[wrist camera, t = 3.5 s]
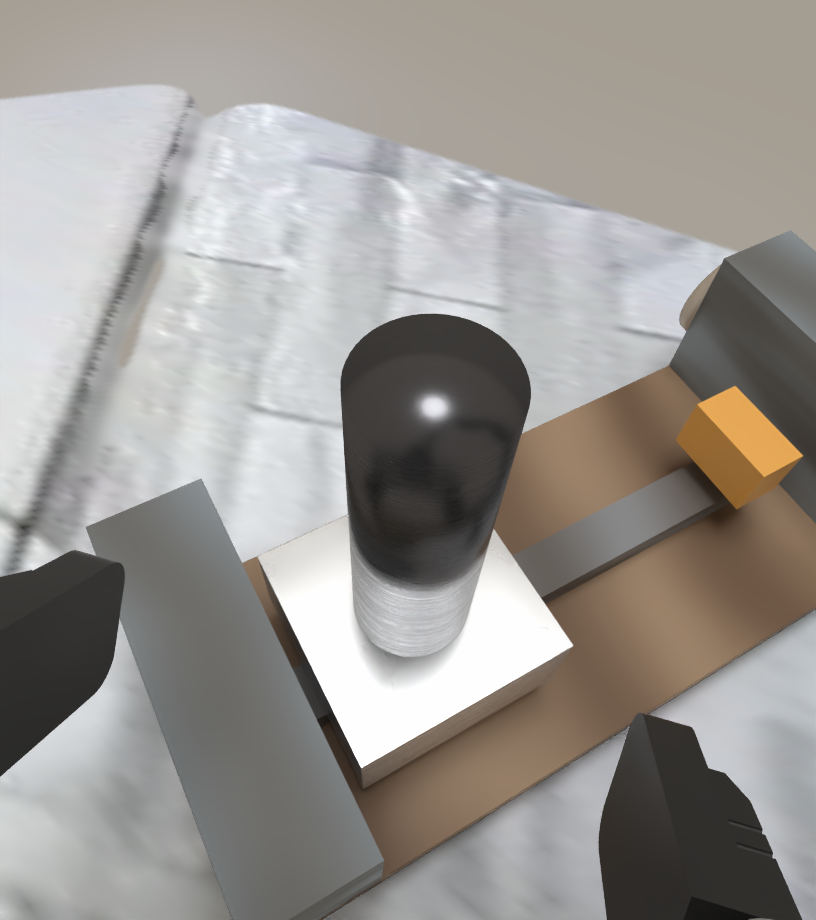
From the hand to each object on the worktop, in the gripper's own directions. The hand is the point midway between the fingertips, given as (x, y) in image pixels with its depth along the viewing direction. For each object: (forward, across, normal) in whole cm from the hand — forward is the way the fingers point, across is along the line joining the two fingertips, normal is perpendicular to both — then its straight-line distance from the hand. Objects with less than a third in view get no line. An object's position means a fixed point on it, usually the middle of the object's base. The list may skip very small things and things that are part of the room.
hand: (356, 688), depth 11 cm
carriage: (+10, 0, +4) cm, 11 cm away
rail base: (+15, -4, +3) cm, 15 cm away
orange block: (+16, -8, -2) cm, 18 cm away
